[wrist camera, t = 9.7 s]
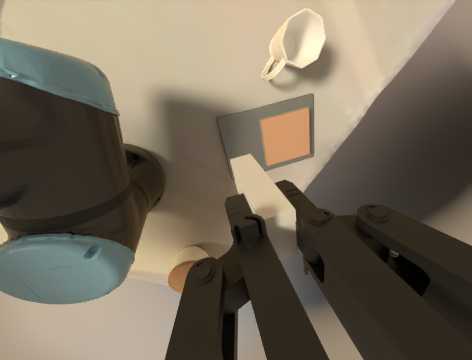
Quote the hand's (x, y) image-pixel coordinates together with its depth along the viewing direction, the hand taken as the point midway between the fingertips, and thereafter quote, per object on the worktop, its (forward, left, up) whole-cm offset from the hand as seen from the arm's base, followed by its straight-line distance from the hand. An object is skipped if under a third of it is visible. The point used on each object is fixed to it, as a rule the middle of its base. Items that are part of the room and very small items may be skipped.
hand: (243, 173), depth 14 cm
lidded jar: (-15, -34, -27) cm, 46 cm away
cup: (+14, +7, -27) cm, 31 cm away
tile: (+9, -8, -25) cm, 28 cm away
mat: (+11, -8, -26) cm, 30 cm away
